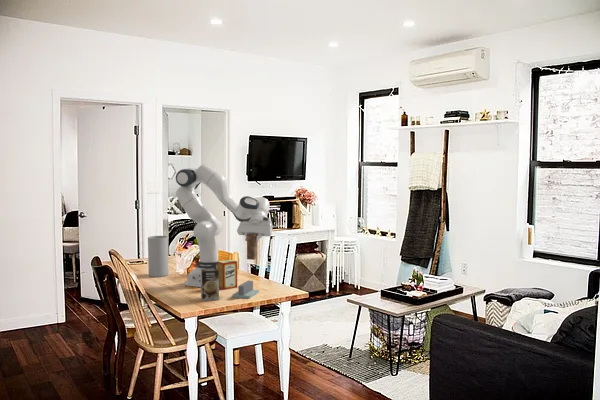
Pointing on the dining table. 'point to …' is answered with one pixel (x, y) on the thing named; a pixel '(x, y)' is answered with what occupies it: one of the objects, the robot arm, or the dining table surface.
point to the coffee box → (209, 284)
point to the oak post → (251, 246)
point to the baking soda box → (227, 274)
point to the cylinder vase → (158, 256)
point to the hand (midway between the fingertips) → (251, 240)
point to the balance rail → (245, 290)
